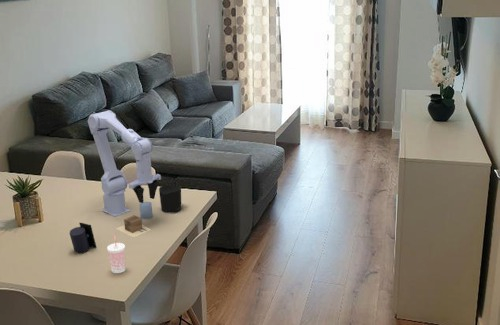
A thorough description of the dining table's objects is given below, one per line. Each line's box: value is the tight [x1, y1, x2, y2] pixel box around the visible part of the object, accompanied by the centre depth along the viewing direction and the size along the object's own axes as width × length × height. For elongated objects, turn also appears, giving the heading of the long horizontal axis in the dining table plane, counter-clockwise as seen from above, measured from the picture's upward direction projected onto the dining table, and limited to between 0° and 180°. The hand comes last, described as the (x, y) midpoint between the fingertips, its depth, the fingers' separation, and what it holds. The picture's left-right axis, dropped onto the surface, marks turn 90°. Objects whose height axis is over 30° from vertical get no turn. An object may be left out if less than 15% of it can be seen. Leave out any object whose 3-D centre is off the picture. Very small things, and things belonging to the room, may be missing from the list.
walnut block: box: [123, 214, 143, 233], centre depth 222 cm, size 5×5×4 cm
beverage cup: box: [106, 233, 126, 274], centre depth 190 cm, size 6×6×14 cm
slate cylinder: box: [139, 201, 153, 220], centre depth 233 cm, size 5×5×6 cm
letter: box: [115, 224, 152, 238], centre depth 223 cm, size 12×9×1 cm
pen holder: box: [158, 184, 182, 214], centre depth 240 cm, size 9×9×10 cm
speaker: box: [69, 222, 97, 254], centre depth 206 cm, size 8×6×10 cm
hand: (146, 200), depth 225 cm, fingers open, 5 cm apart
